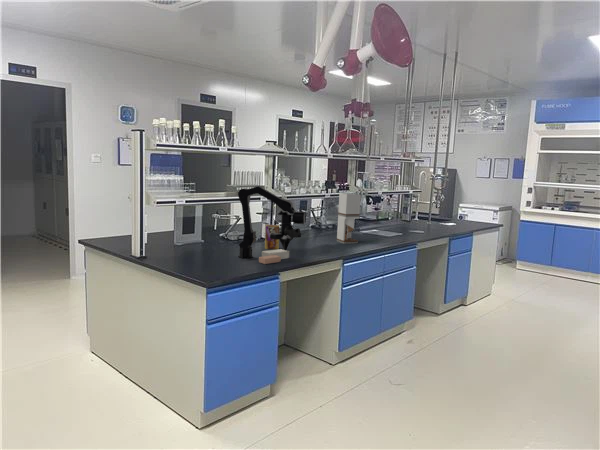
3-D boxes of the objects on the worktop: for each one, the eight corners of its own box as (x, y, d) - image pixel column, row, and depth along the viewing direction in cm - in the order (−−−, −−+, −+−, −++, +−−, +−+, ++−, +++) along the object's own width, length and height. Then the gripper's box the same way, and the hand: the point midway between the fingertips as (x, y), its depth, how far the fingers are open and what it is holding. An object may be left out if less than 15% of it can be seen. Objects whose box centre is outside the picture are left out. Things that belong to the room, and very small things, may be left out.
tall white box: (344, 243, 314) (346, 194, 309) (336, 241, 323) (339, 193, 319) (357, 243, 319) (360, 194, 314) (350, 240, 328) (353, 193, 323)
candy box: (278, 248, 288) (279, 224, 286) (278, 249, 284) (279, 225, 282) (264, 247, 287) (265, 224, 285) (264, 248, 283) (265, 225, 281)
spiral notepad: (270, 260, 249) (270, 253, 249) (261, 258, 255) (261, 250, 255) (289, 258, 259) (289, 251, 258) (280, 255, 265) (280, 248, 264)
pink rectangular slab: (264, 263, 240) (264, 258, 239) (258, 262, 244) (259, 257, 243) (280, 261, 247) (280, 256, 247) (274, 259, 251) (274, 254, 251)
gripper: (282, 226, 237) (281, 254, 239) (308, 224, 250) (306, 251, 252) (269, 223, 246) (268, 250, 248) (295, 221, 258) (294, 247, 260)
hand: (285, 250), depth 252 cm, fingers closed
